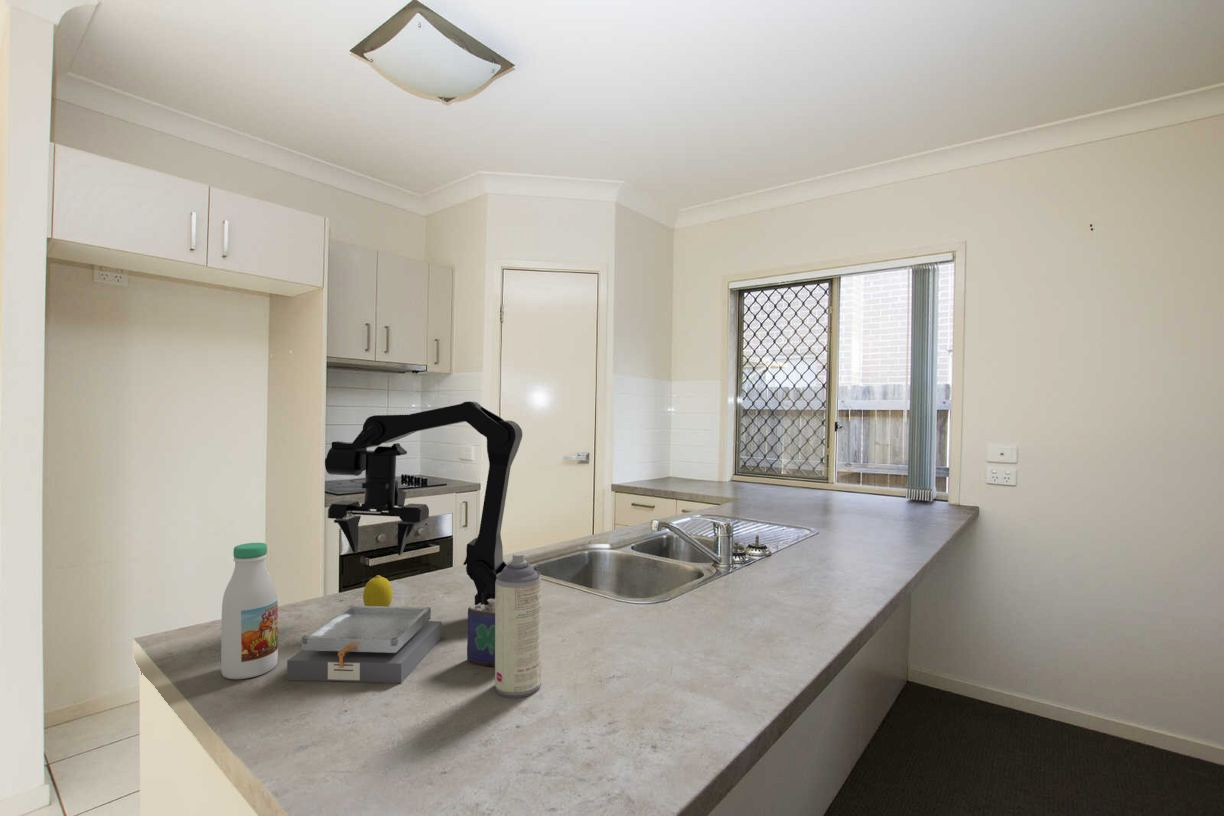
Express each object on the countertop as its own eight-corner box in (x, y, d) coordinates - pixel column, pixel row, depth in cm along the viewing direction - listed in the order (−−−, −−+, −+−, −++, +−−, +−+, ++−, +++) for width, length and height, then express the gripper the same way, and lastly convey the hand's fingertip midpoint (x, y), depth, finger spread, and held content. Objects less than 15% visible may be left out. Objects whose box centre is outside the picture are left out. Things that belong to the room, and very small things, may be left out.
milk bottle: (218, 685, 90) (218, 553, 90) (224, 665, 97) (224, 542, 97) (276, 674, 94) (277, 547, 94) (278, 656, 100) (278, 537, 100)
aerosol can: (523, 672, 95) (524, 546, 95) (549, 687, 90) (550, 554, 90) (486, 686, 90) (486, 554, 90) (511, 702, 85) (512, 562, 85)
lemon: (397, 610, 123) (397, 572, 123) (384, 620, 118) (384, 579, 118) (371, 609, 124) (371, 571, 124) (357, 619, 118) (357, 578, 118)
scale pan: (430, 626, 107) (430, 607, 107) (389, 669, 90) (389, 646, 90) (349, 624, 108) (349, 605, 108) (293, 666, 91) (293, 643, 91)
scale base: (441, 637, 109) (441, 621, 109) (400, 683, 91) (400, 664, 91) (345, 635, 110) (345, 619, 110) (286, 680, 92) (286, 660, 92)
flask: (521, 663, 98) (521, 598, 98) (514, 670, 95) (514, 604, 95) (471, 656, 101) (471, 593, 101) (462, 663, 98) (462, 598, 98)
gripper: (439, 474, 128) (436, 546, 128) (354, 470, 129) (351, 542, 129) (420, 480, 117) (417, 559, 117) (327, 476, 118) (324, 555, 118)
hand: (377, 553), depth 121 cm, fingers open, 9 cm apart
